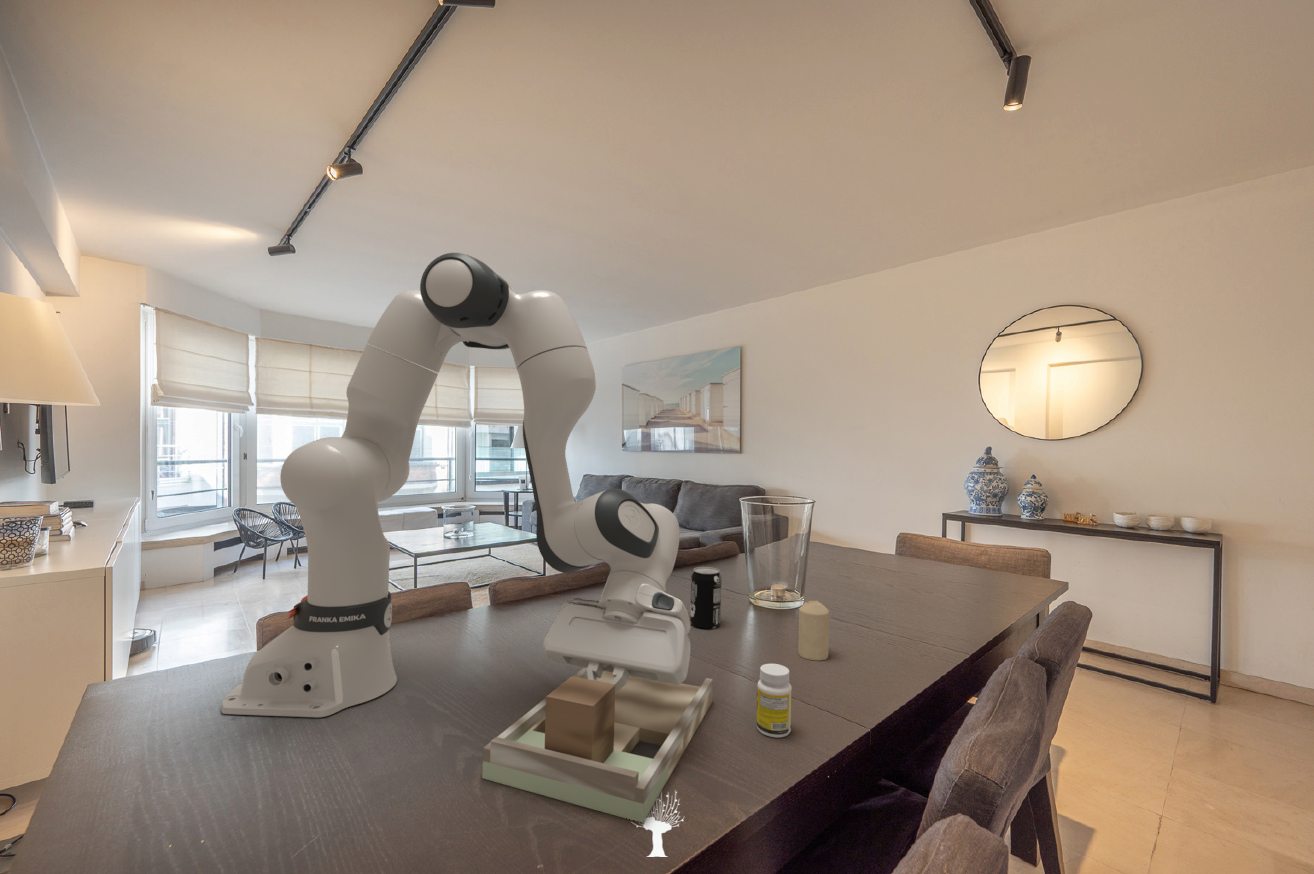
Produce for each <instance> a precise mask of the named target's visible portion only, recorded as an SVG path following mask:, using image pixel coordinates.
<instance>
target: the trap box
mask: <svg viewBox="0 0 1314 874" xmlns="http://www.w3.org/2000/svg"><path fill="white" fill-rule="evenodd" d="M573 676H574V677H579V678H584V679H588V674H587V668H585V667H581V669H580V670H579V671H578V672H576V673H575V674H573ZM614 678H615V677H614V675H613V673H611V672H606V671H603V674H602V676H601V678H598V677H597V681H600V682H605V683H610V682H611V681H612V680H613V679H614ZM713 681H714V680H713V678H708V677H706V678H705V679H704V681H703V682H702V684H701V685H700V686H697V685H693V684H686V683H683V682H682V683H680V684H679V685H674V684H669V683H664V682H659V681H653V680H648V679H643V678H638V677H632V676H628V680H627V683H626V684H625V685H624V686H623V687H622V688H621V689H620V690H619V691H618V692H617V693H616V694H615V717H614V750H617V751H622V752H626V753H630V754H634V755H639V756H643V757H647V758H651V759H653V760H652V762H651V763H650V765H649V766H648V768H647V769H646V771H645V772H644V774H643V775H642V777H641V778H640V780H639V781H638V777H639V772H636V771H632V770H628V769H624V768H620V767H616V766H612V765H608V764H604V763H600V762H596V761H592V760H588V759H584V758H580V757H576V756H572V755H568V754H564V753H559V752H555V751H551V750H547V749H543V748H539V747H535V746H531V745H527V744H523V743H519V742H515V741H516V740H517V739H519V738H520V737H521V736H522V735H523V734H524V733H526V732H527V731H528V730H533V731H537V732H541V733H545V716H546V697H545V698H543V700H541V701H540V702H539V703H537V704H536V705H535V706H533V707H532V709H531V708H530V709H529V711H528V712H526V713H525V714H523V716H521V717H520V718H519V719H517V720H516V721H515V722H514V723H513V724H511V725H510V726H509V727H507V728H506V729H505V730H504V731H503V732H501V733H500V734H499V735H497V736H495V737H494V738H493V739H492V740H490V742H489V743H488V744H486V745H484V747H483V748H482V762H483V761H485V762H489V763H492V764H496V765H500V766H504V767H507V768H511V769H515V770H519V771H522V772H526V773H530V774H534V775H537V776H541V777H545V778H548V779H552V780H556V781H560V782H563V783H567V784H571V785H575V786H578V787H582V788H586V789H590V790H593V791H597V792H601V793H605V794H608V795H612V796H616V797H620V798H623V799H627V800H631V801H635V802H638V803H642V804H644V802H645V800H646V799H647V797H648V795H649V794H650V792H651V790H652V789H653V787H654V785H655V784H656V782H657V780H658V779H659V777H660V775H661V774H662V772H663V770H664V769H665V767H666V765H667V764H668V779H669V778H670V777H671V775H672V774H673V771H674V769H675V768H676V766H677V764H678V763H679V761H680V759H681V757H682V755H683V754H684V752H685V750H686V749H687V747H688V746H689V743H690V741H691V739H692V738H693V736H694V735H695V733H696V731H697V729H698V728H699V725H701V722H702V721H703V719H704V717H705V716H706V713H707V712H708V710H709V709H710V707H711V705H712V703H713V684H714V682H713Z"/></svg>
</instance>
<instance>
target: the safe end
mask: <svg viewBox="0 0 1314 874" xmlns="http://www.w3.org/2000/svg"><path fill="white" fill-rule="evenodd" d="M515 742H519V743H523V744H527V745H531V746H535V747H539V748H543V749H545V733H541V732H537V731H533V730H528V731H527V732H526V733H524V734H523V735H522V736H521V737H520V738H519V739H517V740H516V741H515ZM652 760H653V759H651V758H647V757H643V756H639V755H634V754H630V753H626V752H622V751H617V750H614V751H613V752H612V753H611V755H610V756H609V757H608V758H607V760H606V761H605V762H604V764H608V765H612V766H616V767H620V768H624V769H628V770H632V771H636V772H639V777H638V781H639V780H640V778H641V777H642V775H643V774H644V772H645V771H646V769H647V768H648V766H649V765H650V763H651V762H652ZM481 773H482V777H481V778H482V779H484V780H487V781H490V782H495V783H497V784H502V785H505V786H508V787H512V788H516V789H520V790H523V791H527V792H530V793H533V794H537V795H540V796H544V797H547V798H551V799H554V800H555V799H556V800H557V801H561V802H566V803H570V804H573V805H577V806H580V807H583V808H587V809H590V810H594V811H597V812H598V811H599V812H600V813H601V812H602V813H605V814H608V815H612V816H615V817H620V818H622V819H626V818H627V820H629V819H630V820H629V821H633V820H635V821H634V822H637V821H640V822H643V821H644V822H645V820H646V819H647V816H648V815H649V813H650V811H651V810H652V808H653V806H654V805H655V802H656V801H657V800H658V797H659V795H660V794H661V792H662V791H663V788H664V787H665V785H666V783H667V782H668V780H669V778H668V764H667V765H666V767H665V769H664V770H663V772H662V774H661V775H660V777H659V779H658V780H657V782H656V784H655V785H654V787H653V789H652V790H651V792H650V794H649V795H648V797H647V799H646V800H645V802H644V804H642V803H638V802H635V801H631V800H627V799H623V798H620V797H616V796H612V795H608V794H605V793H601V792H597V791H593V790H590V789H586V788H582V787H578V786H575V785H571V784H567V783H563V782H560V781H556V780H552V779H548V778H545V777H541V776H537V775H534V774H530V773H526V772H522V771H519V770H515V769H511V768H507V767H504V766H500V765H496V764H492V763H489V762H485V761H483V760H482V772H481ZM645 818H646V819H645ZM644 819H645V820H644ZM640 822H639V823H640ZM644 822H643V823H644Z"/></svg>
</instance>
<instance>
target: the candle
mask: <svg viewBox="0 0 1314 874" xmlns="http://www.w3.org/2000/svg"><path fill="white" fill-rule="evenodd" d="M798 609H799V610H798V645H797V646H798V649H797V650H798V652H797V653H798V655H799V656H800V657H801V658H803V659H806V660H810V661H819V662H821V661H825V660H827V659H828V658H829V649H830V647H829V646H830V645H829V643H830V641H829V639H830V637H829V636H830V611H829V609H828V608H827V607H826V606H825V605H824V604H822V603H821V602H819V601H818V600H808V601H805V602H804V603H803V604H802V605H800V607H799V608H798Z"/></svg>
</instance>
